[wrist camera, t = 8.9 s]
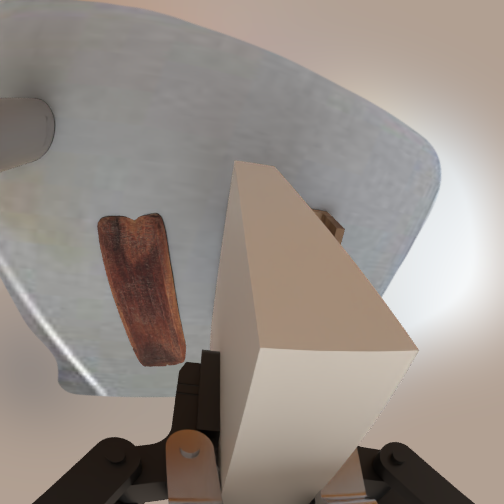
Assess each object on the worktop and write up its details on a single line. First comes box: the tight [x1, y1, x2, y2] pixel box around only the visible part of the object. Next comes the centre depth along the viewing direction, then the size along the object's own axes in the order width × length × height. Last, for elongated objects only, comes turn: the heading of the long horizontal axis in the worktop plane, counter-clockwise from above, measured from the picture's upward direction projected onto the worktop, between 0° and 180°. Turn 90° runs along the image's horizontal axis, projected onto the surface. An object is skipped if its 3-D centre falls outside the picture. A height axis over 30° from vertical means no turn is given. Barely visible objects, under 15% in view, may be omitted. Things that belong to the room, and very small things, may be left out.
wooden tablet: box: [97, 214, 186, 367], centre depth 45 cm, size 26×2×10 cm
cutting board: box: [210, 160, 419, 504], centre depth 14 cm, size 2×12×16 cm, turn 171°
